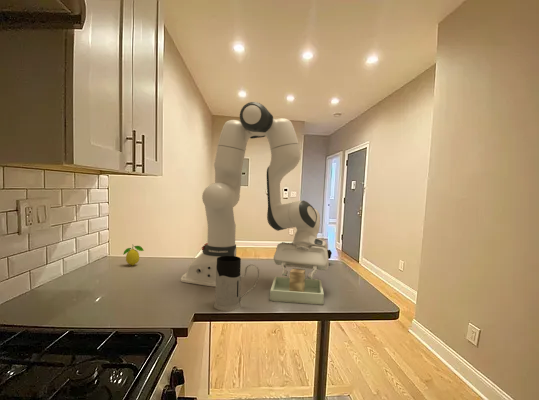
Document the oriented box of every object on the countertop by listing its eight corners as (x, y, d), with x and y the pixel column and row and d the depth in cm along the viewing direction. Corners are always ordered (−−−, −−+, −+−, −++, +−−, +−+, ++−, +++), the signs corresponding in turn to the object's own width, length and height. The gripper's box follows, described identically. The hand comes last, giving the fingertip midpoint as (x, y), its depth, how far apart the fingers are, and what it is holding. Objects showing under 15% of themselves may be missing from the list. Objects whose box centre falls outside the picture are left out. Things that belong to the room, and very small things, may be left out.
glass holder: (218, 298, 100) (219, 254, 100) (260, 302, 98) (261, 257, 98) (209, 309, 92) (210, 261, 91) (255, 313, 90) (257, 264, 89)
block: (289, 293, 105) (289, 271, 105) (292, 289, 110) (293, 268, 109) (301, 295, 104) (302, 273, 104) (304, 291, 108) (305, 269, 108)
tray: (270, 300, 100) (270, 290, 100) (274, 285, 116) (274, 276, 115) (323, 304, 98) (323, 294, 98) (320, 288, 114) (320, 279, 114)
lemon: (143, 265, 138) (143, 243, 138) (133, 268, 133) (133, 245, 132) (132, 263, 141) (132, 242, 140) (122, 266, 135) (122, 244, 135)
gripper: (276, 237, 116) (267, 268, 107) (330, 242, 109) (324, 275, 100) (279, 246, 120) (271, 277, 112) (331, 251, 114) (326, 285, 105)
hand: (297, 276), depth 106 cm, fingers open, 8 cm apart
